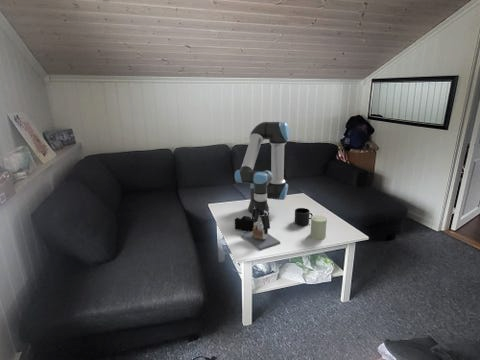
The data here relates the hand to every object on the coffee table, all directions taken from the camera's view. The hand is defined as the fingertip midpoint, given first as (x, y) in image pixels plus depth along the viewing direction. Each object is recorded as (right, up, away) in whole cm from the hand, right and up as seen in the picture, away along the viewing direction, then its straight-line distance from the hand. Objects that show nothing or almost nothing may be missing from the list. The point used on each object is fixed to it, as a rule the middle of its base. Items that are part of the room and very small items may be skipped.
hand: (260, 235), depth 174 cm
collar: (0, 0, 0) cm, 0 cm away
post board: (0, -3, +1) cm, 3 cm away
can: (+35, -1, +4) cm, 35 cm away
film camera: (-8, +1, +16) cm, 18 cm away
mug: (+30, +4, +21) cm, 37 cm away
